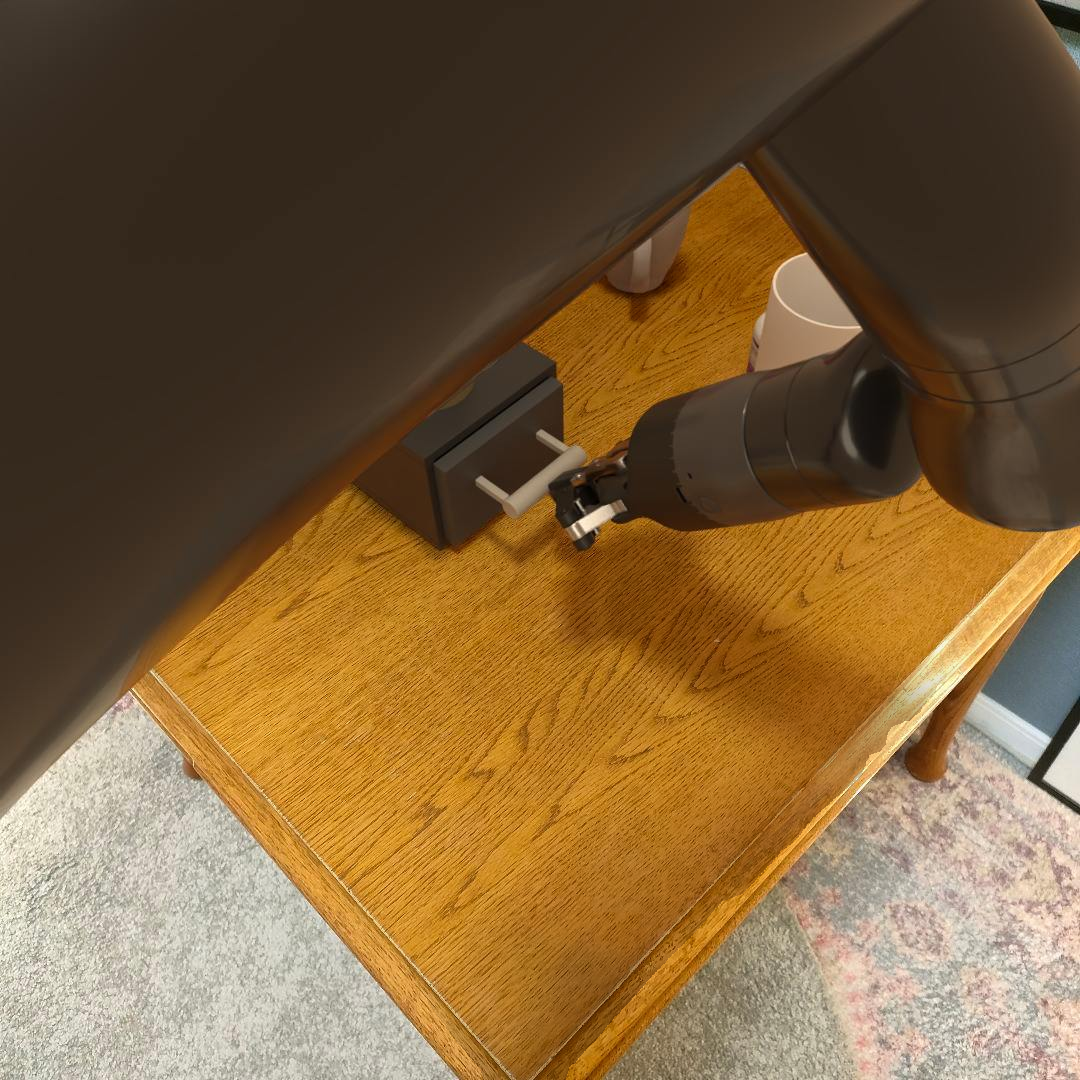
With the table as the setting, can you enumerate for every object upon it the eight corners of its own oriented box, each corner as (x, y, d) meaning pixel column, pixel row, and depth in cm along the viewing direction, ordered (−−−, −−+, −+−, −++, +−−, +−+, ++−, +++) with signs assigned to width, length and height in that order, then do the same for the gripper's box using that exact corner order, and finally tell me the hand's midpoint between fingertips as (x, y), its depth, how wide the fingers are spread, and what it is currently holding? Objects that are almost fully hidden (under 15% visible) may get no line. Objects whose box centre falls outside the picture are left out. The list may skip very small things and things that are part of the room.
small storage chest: (558, 456, 74) (556, 361, 67) (439, 551, 69) (423, 459, 61) (431, 373, 81) (416, 278, 73) (313, 453, 75) (285, 359, 68)
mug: (588, 247, 91) (589, 152, 84) (680, 247, 91) (690, 152, 83) (587, 327, 84) (589, 231, 76) (688, 328, 84) (699, 231, 76)
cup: (823, 516, 70) (878, 344, 57) (720, 474, 73) (751, 302, 60) (862, 446, 74) (921, 273, 62) (763, 409, 77) (800, 236, 64)
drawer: (606, 488, 71) (610, 411, 65) (498, 579, 66) (491, 506, 60) (443, 380, 79) (432, 303, 73) (335, 455, 74) (314, 379, 68)
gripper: (773, 328, 51) (596, 394, 66) (614, 462, 45) (460, 501, 60) (837, 444, 53) (651, 483, 68) (692, 588, 47) (523, 596, 62)
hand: (561, 492), depth 64 cm, fingers closed
